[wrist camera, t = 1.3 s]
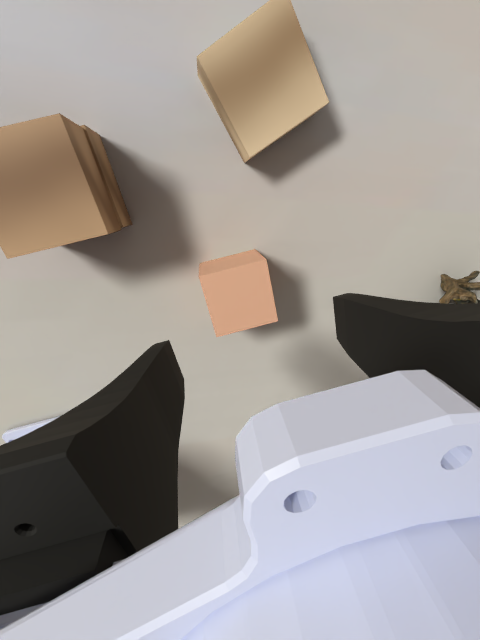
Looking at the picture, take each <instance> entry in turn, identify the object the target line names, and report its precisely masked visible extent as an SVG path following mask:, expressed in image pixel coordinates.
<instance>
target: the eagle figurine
mask: <svg viewBox="0 0 480 640" xmlns="http://www.w3.org/2000/svg"><path fill="white" fill-rule="evenodd" d="M479 273H480V272H479V271H474V272H472V273H471V274H470V275H469V276H467V277H464V278H462V279H458V280H456V279H453V278H450V277H449V276H448V275H446V274H442V275H441V287H442V289H443V290H444V291H446V294H445V295H444V296H443V297H442V298H441V299H440V300H439V302H440V303H444V304H448V303H449V302H450V300H451V299H453V300H454V302H455V303H456V304H473V303H480V300H478V299H477V297H476V295H475V293H473V292H471V290H480V282H476V283H469V281H470V280H472V279H475V278H476V277H477V276H478V274H479Z"/></svg>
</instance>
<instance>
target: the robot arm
mask: <svg viewBox="0 0 480 640" xmlns="http://www.w3.org/2000/svg"><path fill="white" fill-rule="evenodd" d="M333 303H334V313H335V324H336V334H337V339H338V341H339V342H340V344H341V345H342V347H343V348H344V350H345V351H346V353H347V354H348V355H349V356H350V357H351V359H352V360H353V361H354V362H355V363H356V364H357V365H358V366H359V367H360V368H361V369H362V370H363V371H364V372H365V373H366V374H367V375H368V377H369V379H366V380H362V381H358V382H355V383H351V384H347V385H344V386H340V387H336V388H332V389H329V390H325V391H321V392H318V393H314V394H310V395H307V396H303V397H299V398H296V399H292V400H288V401H284V402H281V403H277V404H275V405H273V406H271V407H269V408H267V409H265V410H263V411H262V412H260V413H258V414H256V415H254V416H252V417H251V418H250V419H249V420H248V422H247V423H246V424H245V426H244V427H243V428H242V430H241V431H240V432H239V434H238V435H237V436H236V447H235V461H236V469H237V477H238V485H239V493H240V494H239V495H237V496H236V497H234V498H232V499H230V500H228V501H227V502H225V503H223V504H221V505H220V506H218V507H216V508H214V509H213V510H211V511H209V512H207V513H205V514H204V515H202V516H200V517H198V518H197V519H195V520H193V521H191V522H190V523H188V524H186V525H184V526H182V527H181V528H179V529H178V487H177V477H178V448H179V439H180V431H181V424H182V416H183V408H184V399H185V394H184V378H183V375H182V373H181V370H180V367H179V365H178V362H177V360H176V357H175V354H174V352H173V349H172V346H171V344H170V341H169V340H168V341H164V342H161V343H157V344H154V345H153V346H151V347H150V348H149V349H148V350H147V351H146V352H144V353H143V354H142V355H141V356H140V357H139V358H138V359H137V360H136V361H135V362H134V363H133V364H132V365H131V366H130V367H128V368H127V369H126V370H125V371H124V372H123V373H121V374H120V375H119V376H118V377H117V378H116V379H115V380H113V381H112V382H111V383H110V384H108V385H107V386H106V387H105V388H103V389H102V390H101V391H99V392H98V393H96V394H95V395H94V396H92V397H91V398H89V399H88V400H86V401H85V402H83V403H81V404H80V405H78V406H77V407H75V408H73V409H72V410H70V411H69V412H67V413H65V414H64V415H62V416H59V417H55V418H51V419H47V420H44V421H40V422H36V423H33V424H29V425H25V426H21V427H18V428H14V429H10V430H7V431H6V432H5V433H4V434H3V435H2V438H3V439H4V441H5V442H6V444H3V445H1V446H0V640H480V303H473V304H444V303H424V302H413V301H404V300H396V299H389V298H382V297H376V296H369V295H363V294H353V293H347V294H343V295H339V296H335V297H333Z"/></svg>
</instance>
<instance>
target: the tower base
mask: <svg viewBox="0 0 480 640" xmlns="http://www.w3.org/2000/svg"><path fill="white" fill-rule="evenodd" d="M80 127H82V128H83V130H84V133H85V135H86V138H87V140H88V143H89V146H90V148H91V151H92V154H93V156H94V159H95V161H96V164H97V167H98V169H99V172H100V175H101V177H102V180H103V182H104V185H105V188H106V190H107V193H108V196H109V198H110V201H111V203H112V206H113V209H114V211H115V214H116V216H117V219H118V222H119V224H120V227H121V228H122V227H125V226H129V225H132V222H131V219H130V216H129V214H128V211H127V208H126V206H125V203H124V200H123V197H122V195H121V192H120V189H119V187H118V184H117V181H116V178H115V176H114V173H113V170H112V168H111V165H110V162H109V159H108V157H107V154H106V151H105V149H104V146H103V143H102V141H101V138H100V135H99V134H97V133H96V132H94V131H93V130H91V129H90V128H88V127H87V126H85V125H82V126H80Z"/></svg>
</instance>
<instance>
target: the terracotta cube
mask: <svg viewBox="0 0 480 640" xmlns="http://www.w3.org/2000/svg"><path fill="white" fill-rule="evenodd" d="M199 279H200V282H201V286H202V289H203V293H204V296H205V299H206V303H207V306H208V309H209V313H210V316H211V320H212V323H213V326H214V330H215V333H216V337H219V336H223V335H227V334H231V333H235V332H239V331H242V330H246V329H250V328H254V327H258V326H262V325H265V324H269V323H273V322H277V321H278V318H277V313H276V307H275V302H274V297H273V291H272V286H271V281H270V275H269V270H268V265H267V260H266V258H264V257H263V256H262V255H261V254H260V253H259V252H258V251H256V250H255V249H254V250H250V251H246V252H242V253H238V254H234V255H230V256H226V257H222V258H218V259H214V260H210V261H206V262H203V263H200V265H199Z"/></svg>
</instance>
